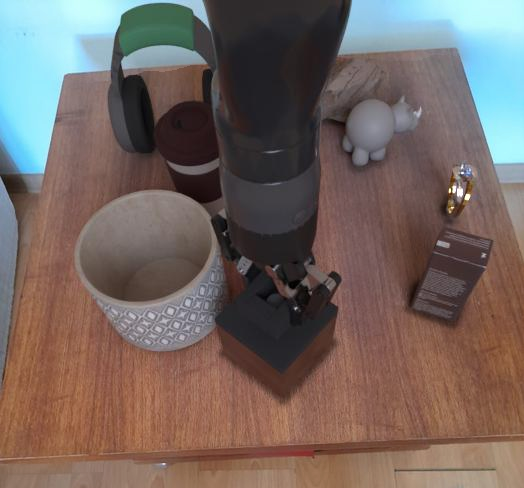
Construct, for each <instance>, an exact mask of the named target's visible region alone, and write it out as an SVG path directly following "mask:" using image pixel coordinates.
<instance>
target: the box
mask: <svg viewBox="0 0 524 488" xmlns="http://www.w3.org/2000/svg"><path fill="white" fill-rule="evenodd" d="M493 245H494V240H493V239H490V238H486V237H482V236H478V235H476V234H472V233H468V232H465V231H461V230H457V229H455V228H452V227H448V226H444V225H443V226H441V229H440V230H439V233H438V235H437V237H436V241H435V243H434V245H433V248H432V251H431V252H430V255H429V258H428V260H427V263H426V265H425V267H424V270H423V272H422V275H421V277H420V279H419V282H418V284H417V287H416V289H415V293H414V295H413V298H412V301H411V303H410V307H409V308H410V309H412V310H415V311H418V312H420V313H424V314H426V315H431V316H433V317H436V318H439V319H442V320H444V321H445V320H446V321H448V322H452V323H454V322H455V320H456V318H457V317H458V315H459V313H460V312H461V310H462V309H463V308H464V305H465V304H466V302H467V300H468V299H469V297H470V296H471V294H472V292H473V290H475V287H476V286H477V284H478V282H479V281H480V279H481V277H482V276H483V274H484V273H485V271H486V270H487V267H488V264H489V260H490V258H491V257H490V256H491V252H492V248H493Z"/></svg>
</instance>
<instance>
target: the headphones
mask: <svg viewBox="0 0 524 488" xmlns="http://www.w3.org/2000/svg"><path fill="white" fill-rule="evenodd" d="M157 46H158V47H159V46H170V47H177V48H178V47H179V48H182V49H185V50H189V51H191V52H195V53H197V54H198V55H199V56H200V57H201V58H202V59H203V60H204V61H205V63H206V64H207V66H208V67H209V68H205V69H203V71H202V75H201V90H202V91H201V93H202V102H204V103H206V104H209V105H211V82H212V78H213V74H214V71H215V69H216V59H215V52H214V46H213V41H212V36H211V31H210V27H209V26H207V25H206V23H205V22H204V21H203V20H201V18H199V17H198V16H197V15H195V13H194V10H193V9H192V8H190V7H188V6H185V5H182V4H178V3H172V2H151V3H145V4H141V5H137V6H134V7H132V8H130V9H128V10H126V11H124V12H123V13H122V14H121V15H120V21H119V25H118V27H117V29H116V31H115V35H114V38H113V46H112V53H111V62H110V81H111V83H110V84H109V86H108V90H107V109H108V115H109V116H108V117H109V122H110V126H111V130H112V132H113V136H114V137H115V140H116V142H117V144H118V145H119V146H120V148H121V149H122V150H124V151H125V152H126V153H131V154H133V153H134V154H135V153H139V154H142V155H146V154H147V155H148V154H152V153H153V152H154V150H155V146H156V143H155V140H154V129H155V126H156V123H155V117H154V110H153V103H152V100H151V96H150V91H149V89H148V86H147V84H146V82H145V79H144V78H143V76H142V75H139V74H129V75H127V76H125V75H124V70H123V65H122V61H123V59H125V57H126V58H127V57H129V56H130V55H131V54H133V53H135V52H137V51H139V50H142V49H145V48H146V49H147V48H150V47H157Z"/></svg>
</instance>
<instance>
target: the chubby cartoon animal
mask: <svg viewBox="0 0 524 488" xmlns="http://www.w3.org/2000/svg"><path fill="white" fill-rule="evenodd" d="M405 98H406V95H405V94H402V95H401V96H400V98H399V99H398V101H397V102H395V103H394V104H392V106H390V105H388V104H387V102H385V101H383V100H382V99H381V100H380V99H378V98H377V99H368V100H365V101H362V102H360V103H359V104H357V105H356V106H355V107H354V108H353V109H352V111H351V112H350V114H349V116H348V118H347V122H346V123H345V135H344V136H343V139H342V142H341V148H342V149H343V151H345V152H348V153H351V162H352V164H353V165H354V166H357V167H363V166H366V165H367V164H368V162H369V159H370V160H372V161H374V162H379V161H382V160H383V159H384V158H385V157H386V152H387V145H388V144H389V142H390V141H391V139H392V138H393V136H394V134H403V133H405V132H411V131H413V130H415V128H416V127H417V126H418V125H419V123H420V122H419V118H420V117H421V116H422V112H423V111H422V110H423V109H422V106H420V107H419V108H418V109H417V111H416V110H415V111H414V108H413V107H411V105H410V104H408V103H407V102H406V101H405Z"/></svg>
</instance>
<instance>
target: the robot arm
mask: <svg viewBox="0 0 524 488" xmlns="http://www.w3.org/2000/svg"><path fill="white" fill-rule="evenodd" d="M201 1H202V3H203V7H204V10H205V14H206V18H207V22H208V28H209V30H210V31H211V36H212V41H213V46H214V52H215V59H216V69H215V71H214V74H213V78H212V82H211V106H212V114H213V121H214V127H215V133H216V139H217V145H218V151H219V177H220V185H221V191H222V197H223V203H224V208H222V209H221V210H220V211H219V212H218V213H217V214H216V215H215V216H214V217H213V218H212V219H211V220H210V221H211V224H212V226H213V229H214V232H215V235H216V237H217V240H218V243H219V245H220V250H221V255H222V257H223V258H224V259H225V261H227V262H228V263H229V264H232V263H233V262H234V263H235V264H236V265H237V266H236V270H237V272H238V273H239V274H240V275H241V279H242V284H243V286H244V288H246V287H247V286H248V285H249V284H250V283H251V282H252V281H253V280H254V279H255V278H256V277H257V276H258V275H259V274H260V273H261V272H262V271H264V272H266V273H268V275H269V276H270V277H272V278H273V281H274V283H275V285H276V287H277V289H278V291H279V294H280V295H281V296H283V297H285V298H287V300H288V303H289V305H290V307H289V313H290V324H291V325H293V326H294V327H296V326H297V325H298V324H299V325H300V326H301V325H302V324H303V323H304V322H305V321H306V320H307V319H308V318H309V319H311V320H314V319H315V318H316V317H317V316H318V315H319V314H320V313H321V312H322V311H323V310H324V308H325V307H326V306H327V305H328V304H329V303H330V302H332V299H333V297H334V295H335V294H336V292H337V290H338V288H339V286H340V284H341V283H342V280H343V279H342V275H340V274H339V273H338V272H336V271H335V270H334V271H333V270H331V271H330V272H329V273H328V274H326V273H324V272H323V271H322V270H321V269H320V268H318V267H317V266H316V258H315V255H314V254H313V251H312V249H313V245H314V244H315V239H316V236H317V229H318V217H319V203H320V191H321V181H322V180H321V179H322V165H321V164H322V162H321V154H320V145H321V132H322V131H321V130H322V120H321V119H322V97H323V94H324V92H325V89H326V87H327V85H328V82H329V80H330V77H331V74H332V71H333V68H334V67H335V66H336V61H337V58H338V55H339V52H340V50H341V46H342V43H343V39H344V37H345V34H346V32H347V31H346V30H347V27H348V24H349V20H350V16H351V10H352V5H353V0H201ZM288 282H289V283H288ZM287 283H288V284H287ZM300 291H302V293H301V294H300V295H299V296H297V295H298V293H299V292H300Z"/></svg>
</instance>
